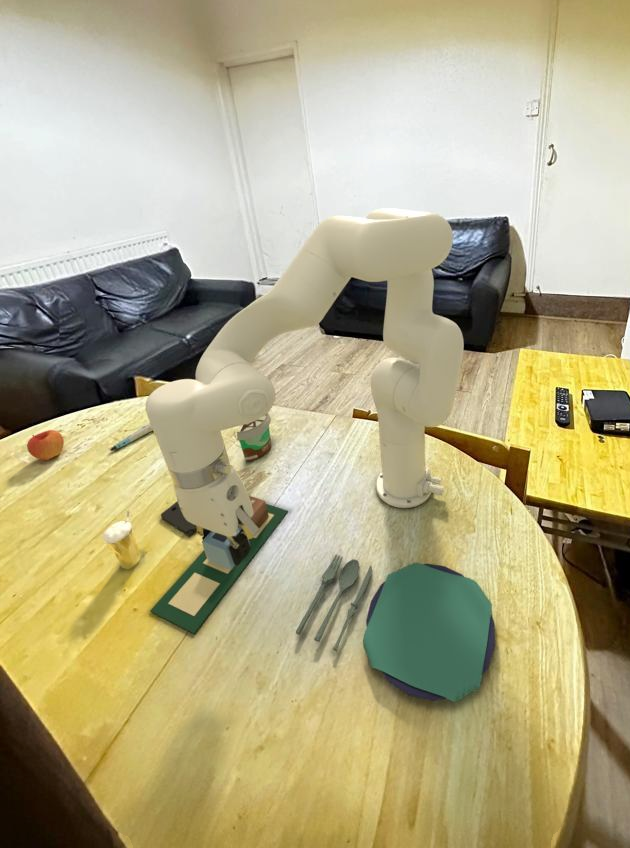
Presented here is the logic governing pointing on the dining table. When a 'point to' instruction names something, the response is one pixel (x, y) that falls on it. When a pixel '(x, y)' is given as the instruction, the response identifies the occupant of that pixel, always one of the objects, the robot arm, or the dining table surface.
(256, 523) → the letter block
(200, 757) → the dining table surface
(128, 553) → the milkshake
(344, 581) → the cutlery set
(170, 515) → the black smartphone
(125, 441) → the pen
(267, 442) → the food container
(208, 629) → the dining table surface
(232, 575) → the word mat
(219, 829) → the dining table surface
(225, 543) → the light blue block
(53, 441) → the apple
